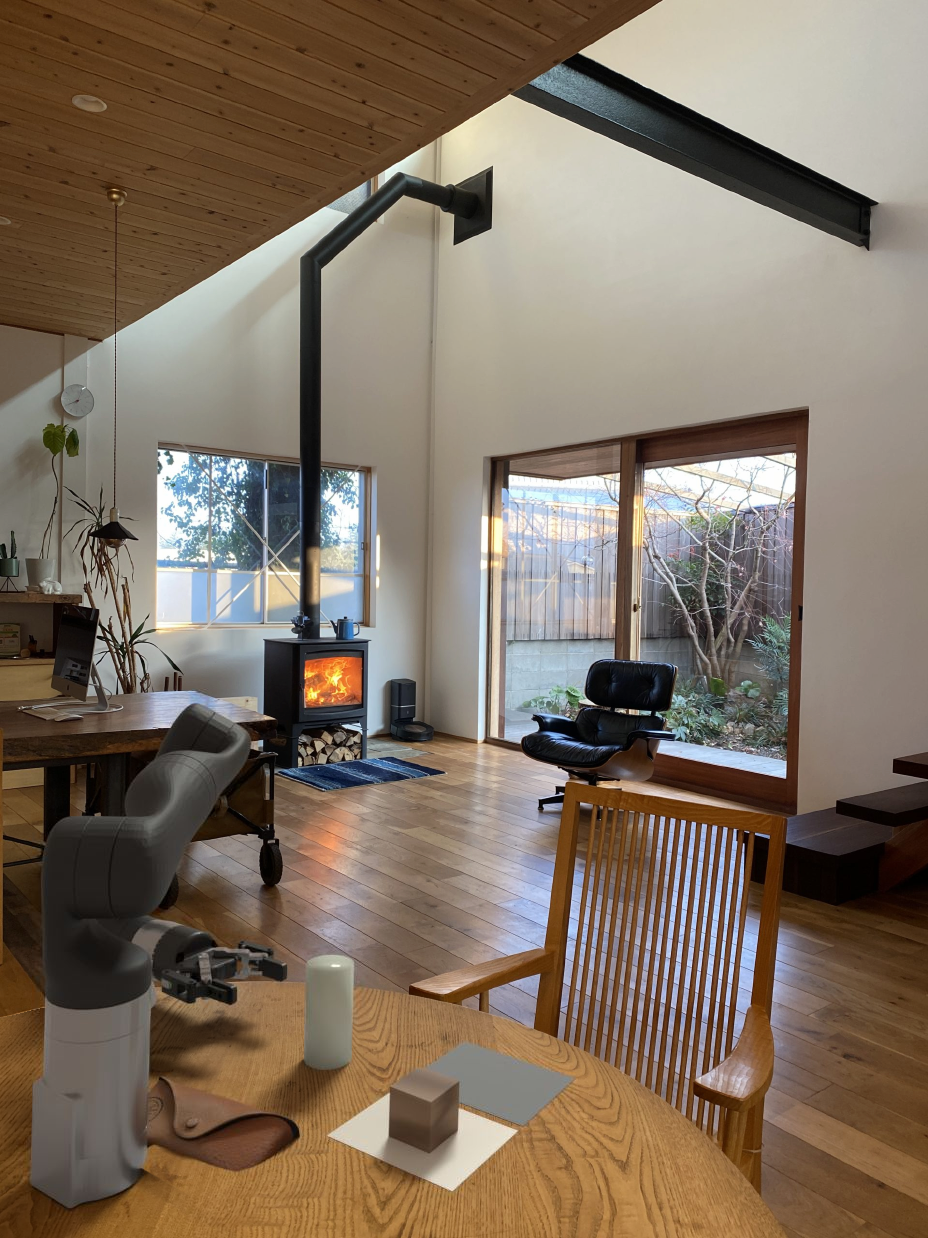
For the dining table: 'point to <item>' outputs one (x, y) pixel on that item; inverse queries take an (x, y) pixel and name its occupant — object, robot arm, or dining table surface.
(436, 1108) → the walnut block
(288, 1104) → the dining table surface
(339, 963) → the pale green pillar candle
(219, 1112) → the sunglasses case
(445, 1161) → the cream mat
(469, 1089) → the slate mat
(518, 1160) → the dining table surface
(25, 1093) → the dining table surface
